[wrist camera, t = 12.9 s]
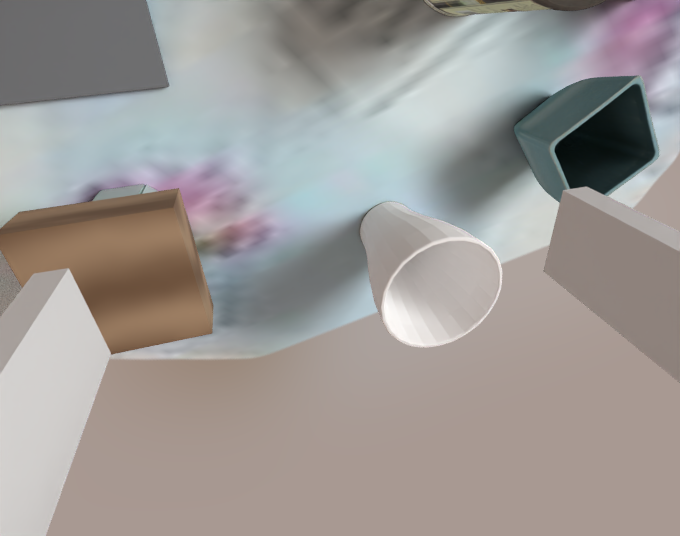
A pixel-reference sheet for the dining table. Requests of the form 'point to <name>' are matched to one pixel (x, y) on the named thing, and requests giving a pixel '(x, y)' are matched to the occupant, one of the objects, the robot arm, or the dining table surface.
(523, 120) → the flower pot
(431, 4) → the coffee can
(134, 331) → the board
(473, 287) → the cup
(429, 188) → the dining table surface
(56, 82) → the mat
